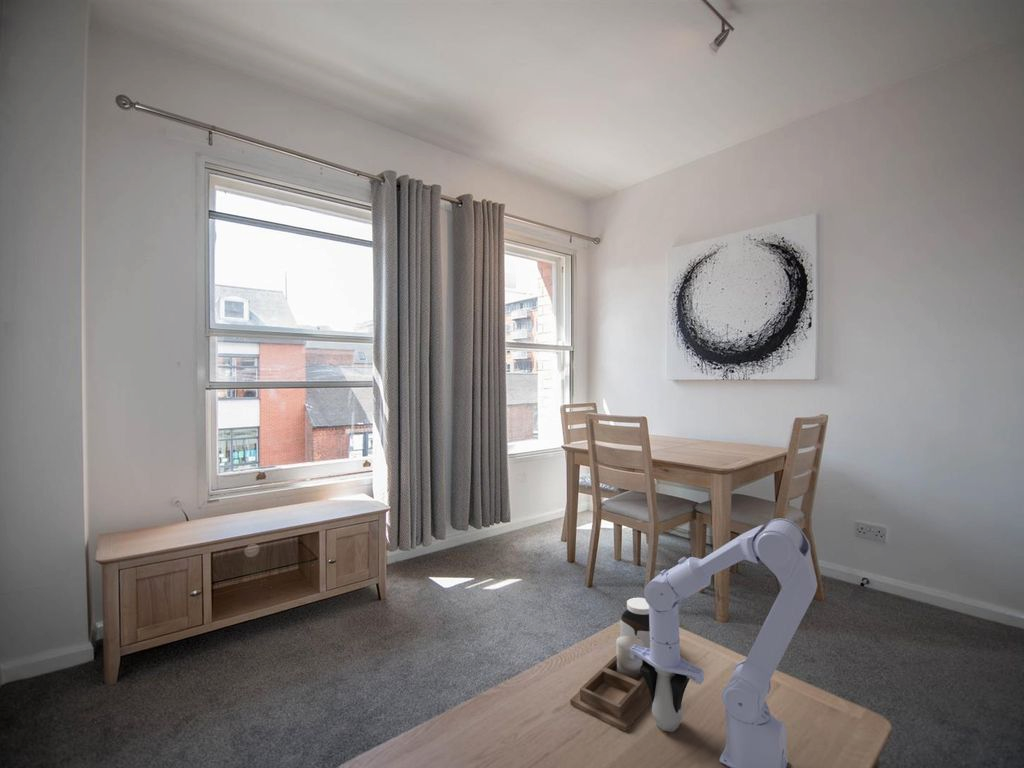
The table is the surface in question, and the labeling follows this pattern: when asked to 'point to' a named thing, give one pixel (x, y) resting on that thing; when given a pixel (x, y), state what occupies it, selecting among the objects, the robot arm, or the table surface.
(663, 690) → the salt shaker
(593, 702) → the wooden condiment caddy
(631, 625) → the spread jar
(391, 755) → the table surface
